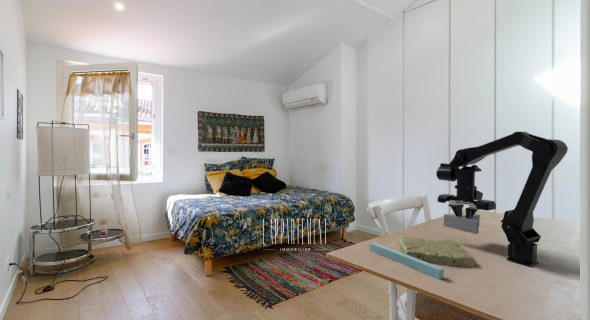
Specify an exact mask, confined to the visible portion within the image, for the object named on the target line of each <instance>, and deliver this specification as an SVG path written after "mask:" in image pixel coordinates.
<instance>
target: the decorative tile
mask: <svg viewBox="0 0 590 320" xmlns="http://www.w3.org/2000/svg"><path fill="white" fill-rule="evenodd" d="M397 243H398V244H397V245H399V246H398V247H400V248H399V250H400V252H401V253H404V254H406V255H409V256H411V257H414V258H417V259H419V260H422V261H425V262H427V263H430V264H438V265H447V266H458V265H460V266H461V267H462V266H463V267H473V268H474V259H473V257H472V256H471V255H470V254H469V253H468V252H467V251H466V249H465V248H464V247H463V246H460V244H459V243H458V242H456V241H455V240H452V239H451V240H448V239H440V238H423V237H422V238H421V237H408V236H400V237H397ZM460 266H459V267H460Z"/></svg>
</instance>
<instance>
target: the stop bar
mask: <svg viewBox="0 0 590 320" xmlns="http://www.w3.org/2000/svg"><path fill="white" fill-rule="evenodd" d="M370 250H371V252H374V253H375V254H378V255H380V256H382V257H384V258H388V259H390V260H392V261H395V262H397V263H399V264H402V265H404V266H406V267H409V268H412V269H413V270H415V271H419V272H421V273H423V274H426V275H428V276H431V277H433V278H436V279H437V280H441V279H443V278H444V277H445V276H444V274H445V272H444V271H445V269H444V268H443V267H440V266H437V265H435V264H434V263H429V262H425V261H422V260H419V259H417V258H414V257H411V256H409V255H406V254H404V253H402V251H398V250H396V249H393V248H390V247H388V246H385V245H382V244H379V243H377V242H375V241H374V242H370V243H369V251H370Z"/></svg>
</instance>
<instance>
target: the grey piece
mask: <svg viewBox="0 0 590 320" xmlns="http://www.w3.org/2000/svg"><path fill="white" fill-rule="evenodd" d="M480 217H481V215H480V214H478V213H475V214H474V216H473V218H472V219H468V218H466V214H465V215H464V214H463V215H462V216H459V217H458V216H456V215H453V214H449V213H445V214H443V227H445V228H449V229H454V230H459V231H461V232H466V233H470V234H474V235H478V234H479V232H480V230H479V229H480V228H479V227H480V220H481V219H480Z"/></svg>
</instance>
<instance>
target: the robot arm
mask: <svg viewBox="0 0 590 320" xmlns="http://www.w3.org/2000/svg"><path fill="white" fill-rule="evenodd" d="M518 146H520V147H522V148H524V149H526V150H527V151H530V152H532V155H531V164H532V167H531V169H530V172H529V174H528V176H527V179H526V181H525V183H524V186H523V189H522V191H521V194H520V196H519V199H518V200H517V203H516V205H515V207H514V208H513V209H510V210H509V209H508V210H505V211H504V214H503V218H502V219H501V220H500V223H501V230H502V231H503V233H504V234H505V237H506V240H507V242H508V244H507V257H506V261H509V262H510V261H511V262H513V263H517V264H520V265H523V266H527V267H533V266H535V265H537V264H538V263H540V261H539V260H538V258H537V257H538V244H537V243H539V242H540V241H541V237H542V236H541V235H540V234H539V233H538V232H537V230H535V229H534V227H533V226H534V223H535V222H534V221H535V220H534V211H535V209H536V207H537V204H538V202H539V200H540V198H541V195H542V193H543V191H544V188H545V186H546V184H547V182H548V179H549V177H550V175H551V173H552V171H553V170H554V169H555V168H556V167H557V166H558V165H559V164H560V163H561V162H562V160H563V159H564V157H565V156H566V154H567V153H568V149H569V148H568V145H567V144H566V143H565V142H564V141H562V140H560V139H555V138H554V139H552V138H551V139H549V138H545V137H541V136H538V135H535V134H532V133H530V132H527V131H515V132H513V133H512V134H509V135H506V136H503V137H501V138H498V139H495V140H492V141H489V142H487V143H484V144H481V145H478V146H473V147H466V148H461V149H458V150H456V152H455V154H454V157H453V159H452V160H450V162H449V163H445V162H444V163H443V162H442V163H440V164H439V165H440V166H439V167H438V168H437V170H436V178H437V180H439V181H446V182H456V185H454V189H456V195H455V194H449V193H442V194H439V195H438V196H437V203H442V204H446V203H447V202H449V204H447V205H448V207H450V209H452V212H453V213H454V216H458V217H459V216H463V208H464V205H467V207H465V215H466V218H468V219H472V218H473V216H474V214H477V212H478V211H479V210H481V211H485V212H486V211H493V210H496V209H497V203H496V202H495V200H491V199H489V200H488V199H483V195H484V193H483V192H481V191H479V190H478V189H477V188H478V187H477V185H475V184H476V183H475V181H476V178H475V177H476V172H482V169H481V168H480V167H479V166H478V165H477V163H479V162H480V161H482V160H484V159H485V158H486V157H488V156H491V155H493V154H497V153H500V152H503V151H506V150H509V149H512V148H515V147H518ZM470 165H471V166H470Z"/></svg>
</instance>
